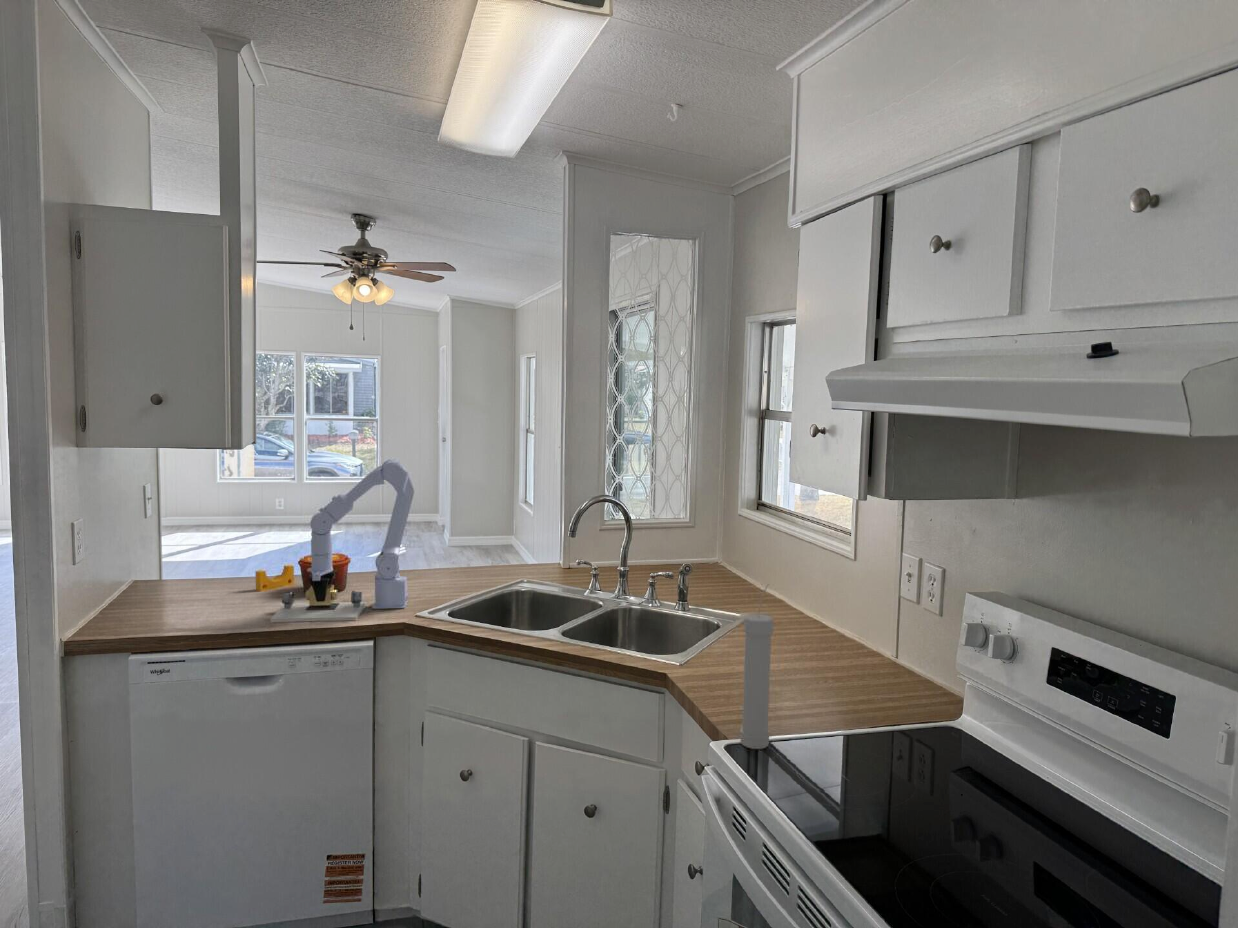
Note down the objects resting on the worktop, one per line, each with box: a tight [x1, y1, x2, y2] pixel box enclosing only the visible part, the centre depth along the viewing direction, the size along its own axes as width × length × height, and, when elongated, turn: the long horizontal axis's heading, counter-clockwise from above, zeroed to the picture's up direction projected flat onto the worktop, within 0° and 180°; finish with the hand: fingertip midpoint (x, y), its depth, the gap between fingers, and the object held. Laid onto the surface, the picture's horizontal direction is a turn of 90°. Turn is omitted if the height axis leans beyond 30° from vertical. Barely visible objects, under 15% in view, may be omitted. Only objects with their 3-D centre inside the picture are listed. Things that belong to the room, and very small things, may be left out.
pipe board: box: [270, 590, 367, 623], centre depth 229 cm, size 23×16×6 cm
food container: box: [297, 552, 351, 594], centre depth 256 cm, size 16×16×11 cm
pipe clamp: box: [255, 564, 295, 592], centre depth 259 cm, size 12×4×6 cm, turn 146°
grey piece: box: [739, 583, 774, 750], centre depth 147 cm, size 6×6×30 cm
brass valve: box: [305, 585, 339, 606], centre depth 232 cm, size 8×4×5 cm, turn 98°
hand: (322, 599), depth 232 cm, fingers closed on brass valve, 4 cm apart
